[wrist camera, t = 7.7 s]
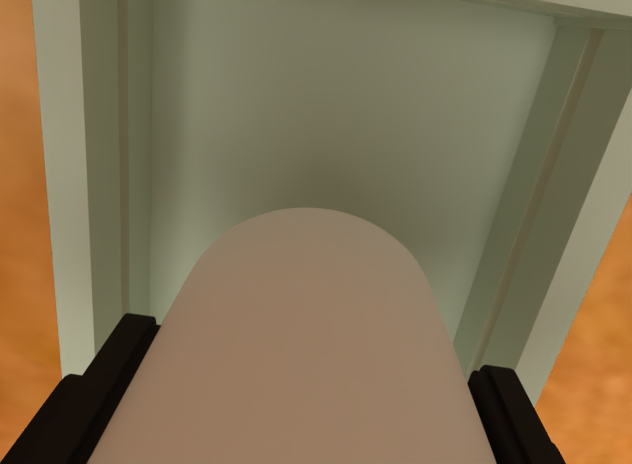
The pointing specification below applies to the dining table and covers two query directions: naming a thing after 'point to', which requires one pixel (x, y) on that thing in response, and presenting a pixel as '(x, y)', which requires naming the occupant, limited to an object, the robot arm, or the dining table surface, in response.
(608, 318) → the dining table surface
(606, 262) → the dining table surface
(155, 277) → the tray
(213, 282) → the can
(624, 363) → the dining table surface
